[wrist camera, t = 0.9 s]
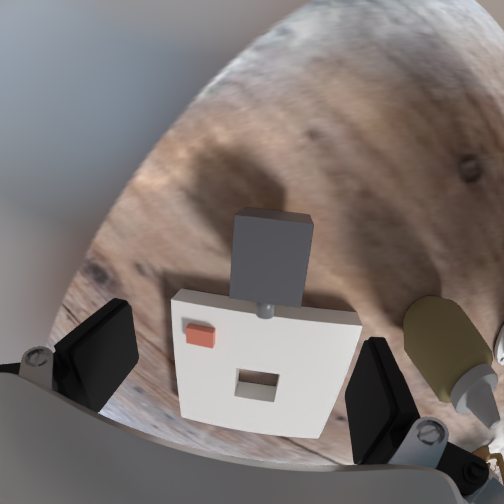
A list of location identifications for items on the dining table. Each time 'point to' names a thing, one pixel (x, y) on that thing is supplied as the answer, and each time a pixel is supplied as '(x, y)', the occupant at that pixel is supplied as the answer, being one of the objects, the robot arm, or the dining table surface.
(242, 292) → the plug
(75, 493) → the robot arm
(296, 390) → the socket
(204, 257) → the dining table surface
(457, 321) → the squeeze bottle
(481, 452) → the lantern
